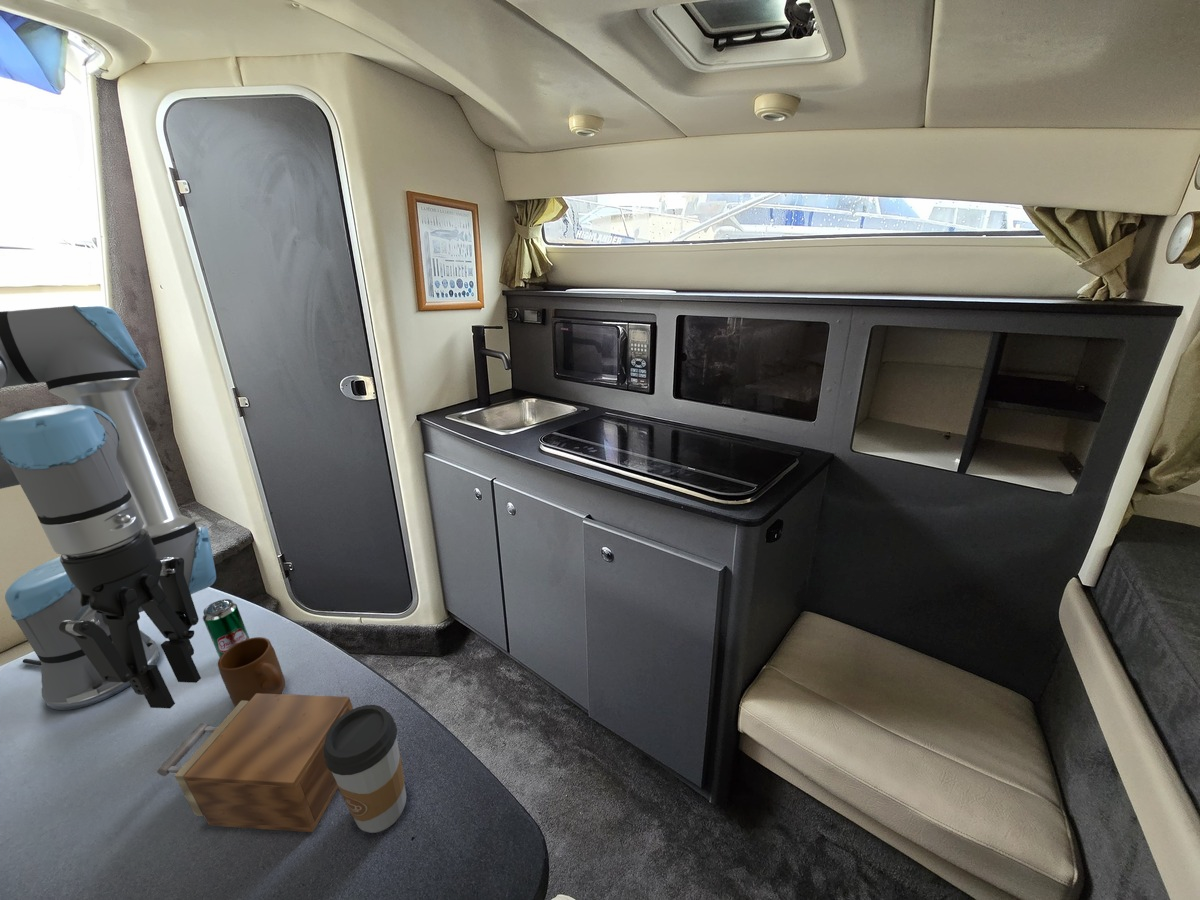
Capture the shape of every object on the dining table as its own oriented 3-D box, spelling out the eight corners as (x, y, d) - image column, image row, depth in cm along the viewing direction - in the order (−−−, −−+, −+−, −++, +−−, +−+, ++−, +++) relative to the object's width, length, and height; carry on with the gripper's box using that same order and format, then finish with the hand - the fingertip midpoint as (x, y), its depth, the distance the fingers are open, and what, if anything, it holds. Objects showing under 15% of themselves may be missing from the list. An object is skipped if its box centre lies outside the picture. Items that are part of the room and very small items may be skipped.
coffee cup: (333, 829, 64) (303, 748, 59) (381, 770, 71) (358, 693, 66) (383, 854, 61) (356, 772, 56) (427, 790, 68) (408, 712, 63)
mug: (312, 695, 84) (297, 652, 81) (267, 731, 78) (249, 687, 75) (270, 671, 90) (254, 630, 86) (225, 703, 83) (206, 661, 80)
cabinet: (208, 825, 65) (183, 776, 62) (274, 738, 77) (256, 693, 73) (313, 832, 64) (293, 782, 60) (363, 743, 76) (349, 696, 72)
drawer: (155, 813, 66) (133, 773, 63) (222, 735, 77) (205, 698, 74) (290, 821, 64) (273, 781, 62) (339, 741, 75) (327, 703, 72)
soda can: (226, 673, 90) (204, 620, 85) (219, 659, 93) (197, 607, 88) (258, 656, 93) (238, 605, 89) (250, 644, 96) (231, 593, 92)
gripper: (54, 586, 49) (144, 752, 57) (193, 506, 64) (248, 647, 72) (-14, 585, 49) (86, 749, 58) (140, 506, 64) (201, 645, 73)
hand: (176, 692), depth 65 cm, fingers open, 3 cm apart
